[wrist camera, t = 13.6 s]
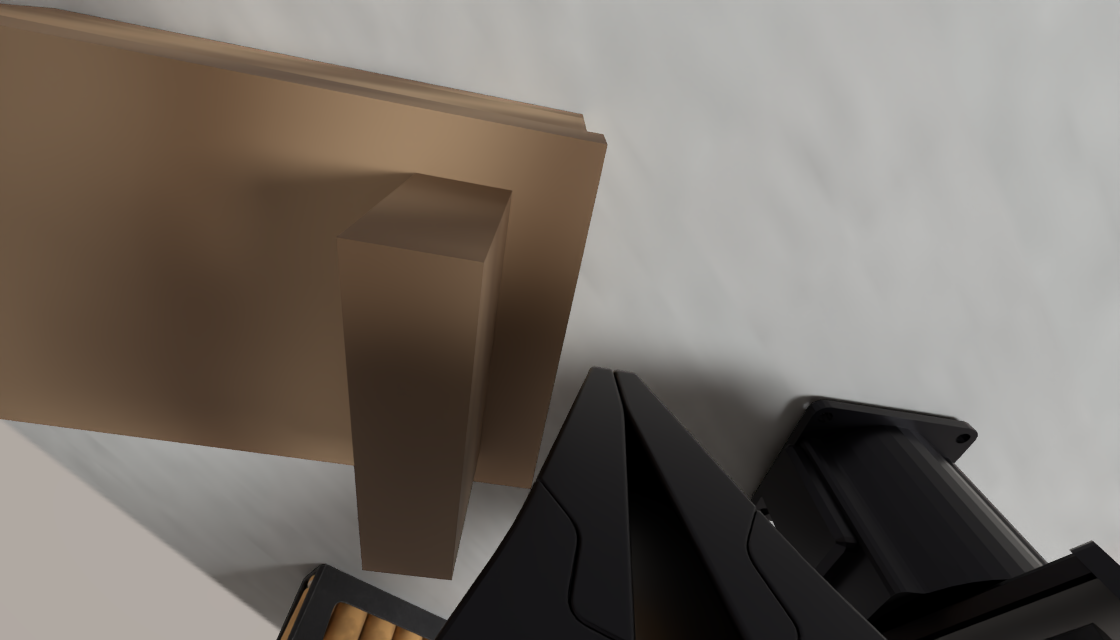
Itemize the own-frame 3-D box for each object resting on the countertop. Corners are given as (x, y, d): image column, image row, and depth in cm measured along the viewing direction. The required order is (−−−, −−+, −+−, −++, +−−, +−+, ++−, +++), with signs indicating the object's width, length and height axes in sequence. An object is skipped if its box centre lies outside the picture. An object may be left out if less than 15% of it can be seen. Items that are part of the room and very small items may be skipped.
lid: (603, 135, 8) (629, 197, 5) (533, 458, 12) (520, 616, 9) (-244, -34, 7) (-1037, -117, 4) (1, 385, 11) (-249, 532, 8)
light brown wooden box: (582, 114, 12) (589, 143, 8) (536, 356, 16) (527, 449, 12) (54, 7, 11) (-212, -15, 7) (149, 296, 15) (11, 377, 11)
